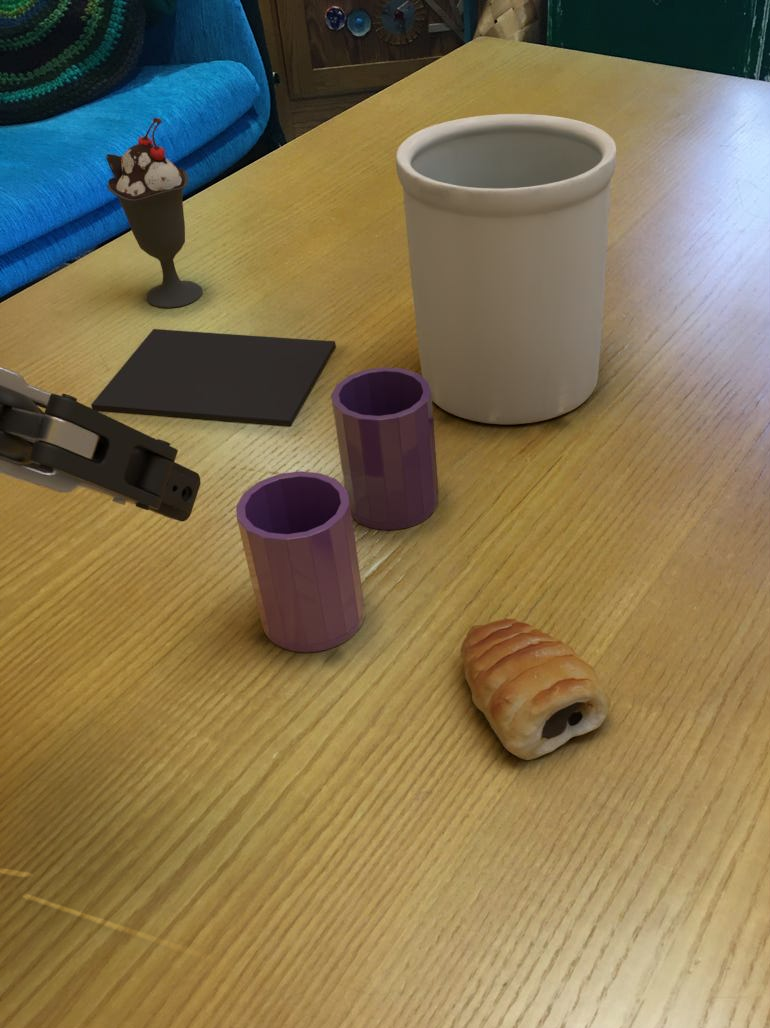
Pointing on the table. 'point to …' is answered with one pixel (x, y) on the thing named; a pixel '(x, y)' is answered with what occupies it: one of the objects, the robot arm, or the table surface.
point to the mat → (217, 377)
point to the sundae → (155, 213)
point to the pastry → (531, 687)
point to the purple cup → (302, 560)
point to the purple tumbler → (387, 446)
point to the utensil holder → (508, 261)
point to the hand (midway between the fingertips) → (116, 478)
